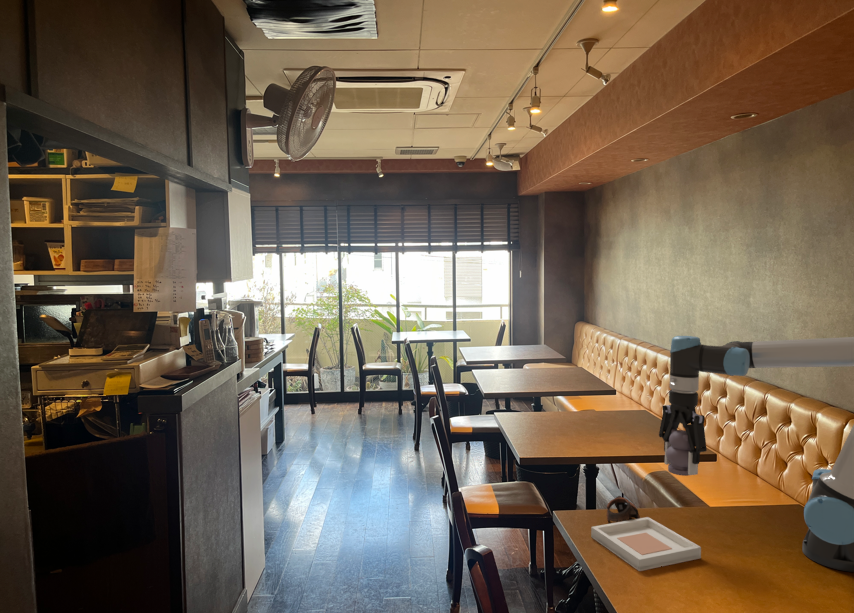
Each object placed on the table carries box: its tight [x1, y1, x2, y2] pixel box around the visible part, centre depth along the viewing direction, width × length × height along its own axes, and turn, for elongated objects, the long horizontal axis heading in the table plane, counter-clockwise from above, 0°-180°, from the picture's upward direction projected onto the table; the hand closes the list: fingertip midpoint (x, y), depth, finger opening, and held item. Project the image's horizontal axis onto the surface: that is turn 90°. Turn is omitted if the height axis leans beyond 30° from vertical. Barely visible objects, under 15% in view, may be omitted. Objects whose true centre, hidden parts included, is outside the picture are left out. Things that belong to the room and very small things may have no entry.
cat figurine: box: [666, 429, 691, 477], centre depth 162 cm, size 8×8×12 cm
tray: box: [590, 516, 702, 572], centre depth 156 cm, size 20×20×3 cm
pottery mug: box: [606, 495, 641, 523], centre depth 174 cm, size 12×10×8 cm
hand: (680, 468), depth 162 cm, fingers closed on cat figurine, 8 cm apart
